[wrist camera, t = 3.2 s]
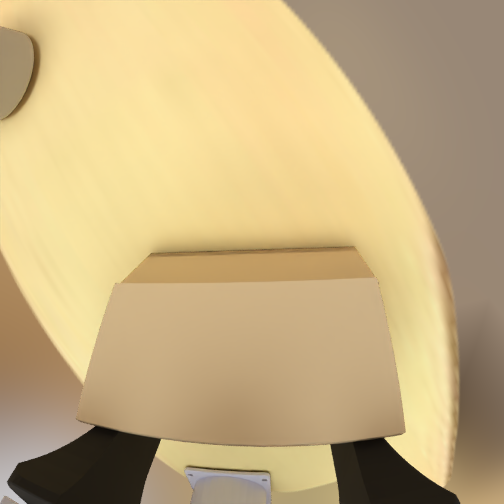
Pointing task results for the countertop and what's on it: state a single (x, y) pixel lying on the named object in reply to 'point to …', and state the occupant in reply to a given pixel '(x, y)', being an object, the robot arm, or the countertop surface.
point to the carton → (251, 266)
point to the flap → (245, 363)
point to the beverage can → (14, 68)
